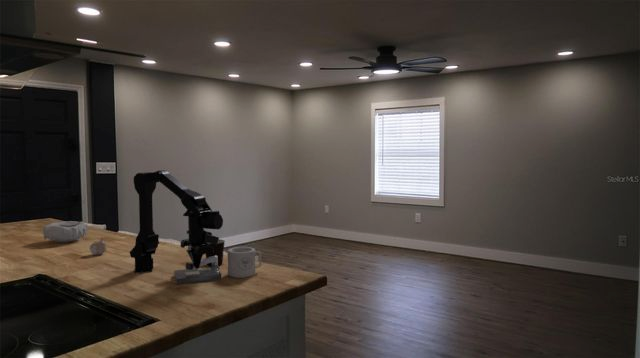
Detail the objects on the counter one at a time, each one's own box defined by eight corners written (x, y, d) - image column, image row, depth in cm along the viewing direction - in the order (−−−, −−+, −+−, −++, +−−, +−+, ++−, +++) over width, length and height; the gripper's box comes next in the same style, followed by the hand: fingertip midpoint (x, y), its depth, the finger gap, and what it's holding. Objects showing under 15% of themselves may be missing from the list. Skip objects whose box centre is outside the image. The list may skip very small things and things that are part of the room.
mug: (232, 279, 166) (231, 253, 165) (224, 272, 176) (224, 248, 175) (266, 275, 172) (265, 250, 172) (256, 268, 182) (256, 244, 181)
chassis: (177, 284, 160) (176, 278, 160) (174, 275, 171) (174, 270, 171) (221, 279, 167) (221, 273, 166) (216, 271, 178) (215, 265, 177)
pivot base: (210, 271, 178) (210, 270, 178) (209, 268, 181) (209, 267, 181) (220, 270, 179) (220, 269, 179) (218, 267, 183) (218, 266, 183)
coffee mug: (219, 267, 183) (219, 243, 182) (200, 266, 185) (200, 243, 184) (230, 260, 194) (230, 238, 194) (212, 259, 196) (212, 237, 195)
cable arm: (190, 277, 167) (190, 263, 167) (185, 276, 168) (185, 262, 168) (219, 267, 181) (219, 255, 180) (214, 266, 182) (214, 254, 182)
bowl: (76, 236, 248) (76, 218, 247) (95, 240, 236) (94, 222, 235) (36, 242, 231) (35, 223, 230) (54, 247, 219) (53, 227, 218)
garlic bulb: (92, 257, 201) (91, 239, 200) (88, 254, 205) (88, 237, 205) (108, 254, 205) (107, 237, 204) (104, 252, 210) (103, 235, 209)
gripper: (226, 228, 165) (227, 270, 166) (206, 223, 180) (207, 260, 181) (197, 232, 158) (198, 275, 159) (179, 225, 173) (180, 265, 174)
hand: (197, 268), depth 168 cm, fingers closed
